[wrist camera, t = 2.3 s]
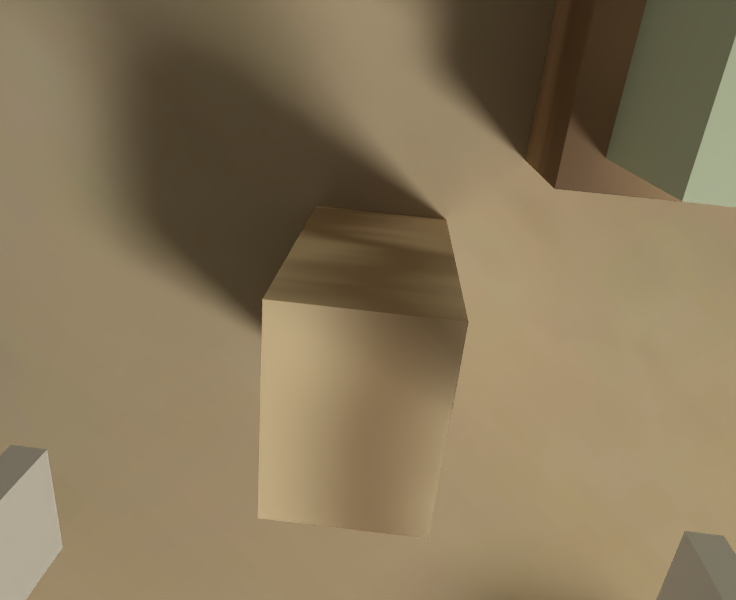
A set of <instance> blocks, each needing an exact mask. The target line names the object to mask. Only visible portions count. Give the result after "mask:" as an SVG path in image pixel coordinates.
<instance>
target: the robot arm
mask: <svg viewBox="0 0 736 600" xmlns="http://www.w3.org/2000/svg"><path fill="white" fill-rule="evenodd" d="M62 548H63V546H62V540H61V534H60V528H59V521H58V515H57V509H56V503H55V496H54V490H53V484H52V477H51V471H50V465H49V459H48V452H47V449H39V448H31V447H23V446H16V445H11V446H10V447H9V448H8V449H7V450H6V451H5V452H3V453H2V454H1V455H0V600H26V599H27V597H28V596H29V594H30V593H31V592H32V590H33V589H34V587H35V586H36V585H37V583H38V582H39V580H40V579H41V577H42V576H43V575H44V573H45V572H46V570H47V569H48V568H49V566H50V565H51V563H52V562H53V561H54V559H55V558H56V556H57V555H58V553H59V552H60V551H61V549H62ZM657 600H736V555H735V553H734V552H733V550H732V548H731V547H730V545H729V544H728V542H727V540H726V539H725V537H724V536H720V535H713V534H705V533H697V532H689V531H685V532H684V535H683V537H682V539H681V542H680V544H679V547H678V549H677V551H676V554H675V556H674V559H673V561H672V563H671V566H670V568H669V571H668V573H667V576H666V578H665V580H664V583H663V585H662V588H661V590H660V592H659V595H658V597H657Z"/></svg>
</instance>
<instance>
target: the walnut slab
mask: <svg viewBox="0 0 736 600" xmlns="http://www.w3.org/2000/svg"><path fill="white" fill-rule="evenodd" d="M646 2H647V0H556V6H555V11H554V16H553V21H552V26H551V31H550V36H549V41H548V46H547V51H546V56H545V61H544V66H543V72H542V77H541V82H540V87H539V92H538V97H537V102H536V107H535V112H534V117H533V122H532V127H531V133H530V138H529V143H528V148H527V153H526V158H525V160H526V161H527V162H528V163H529V164H530V165H531V166H532V167H533V168H534V169H535V170H536V171H537V172H538V173H539V174H540V175H541V176H542V177H543V178H544V179H545V180H546V181H547V182H548V183H549V184H550V185H551V186H552V187H554V188H555V189H563V190H573V191H582V192H592V193H602V194H612V195H622V196H631V197H641V198H651V199H661V200H671V201H680V200H679V199H677V198H675V197H673V196H672V195H670V194H668V193H666V192H664V191H663V190H661V189H659V188H657V187H656V186H654V185H652V184H650V183H649V182H647V181H645V180H643V179H642V178H640V177H638V176H636V175H635V174H633V173H631V172H629V171H628V170H626V169H624V168H622V167H620V166H619V165H617V164H615V163H613V162H612V161H610V160H608V159H606V155H607V151H608V147H609V143H610V139H611V136H612V132H613V128H614V124H615V120H616V117H617V113H618V109H619V105H620V101H621V97H622V94H623V90H624V86H625V82H626V78H627V75H628V71H629V67H630V63H631V59H632V55H633V52H634V48H635V44H636V40H637V36H638V32H639V29H640V25H641V21H642V17H643V13H644V10H645V6H646ZM680 202H682V201H680ZM690 203H691V202H690Z"/></svg>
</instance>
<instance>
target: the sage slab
mask: <svg viewBox="0 0 736 600" xmlns="http://www.w3.org/2000/svg"><path fill="white" fill-rule="evenodd" d="M606 159H608V160H610V161H612V162H613V163H615V164H617V165H619V166H620V167H622V168H624V169H626V170H628V171H629V172H631V173H633V174H635V175H636V176H638V177H640V178H642V179H643V180H645V181H647V182H649V183H650V184H652V185H654V186H656V187H657V188H659V189H661V190H663V191H664V192H666V193H668V194H670V195H672V196H673V197H675V198H677V199H679V200H680V201H682V202H691V203H700V204H709V205H718V206H727V207H736V0H647V2H646V6H645V10H644V13H643V17H642V21H641V25H640V29H639V32H638V36H637V40H636V44H635V48H634V52H633V55H632V59H631V63H630V67H629V71H628V75H627V78H626V82H625V86H624V90H623V94H622V97H621V101H620V105H619V109H618V113H617V117H616V120H615V124H614V128H613V132H612V136H611V139H610V143H609V147H608V151H607V155H606Z"/></svg>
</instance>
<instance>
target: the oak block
mask: <svg viewBox="0 0 736 600" xmlns="http://www.w3.org/2000/svg"><path fill="white" fill-rule="evenodd" d="M467 326H468V319H467V314H466V309H465V305H464V300H463V295H462V291H461V286H460V281H459V277H458V272H457V267H456V263H455V258H454V253H453V249H452V244H451V240H450V235H449V230H448V226H447V221H446V220H444V219H435V218H426V217H417V216H407V215H398V214H389V213H380V212H370V211H361V210H352V209H343V208H333V207H324V206H316V207H315V209H314V210H313V212H312V214H311V216H310V217H309V219H308V221H307V223H306V224H305V226H304V228H303V230H302V231H301V233H300V235H299V237H298V238H297V240H296V242H295V243H294V245H293V247H292V249H291V250H290V252H289V254H288V256H287V257H286V259H285V261H284V263H283V264H282V266H281V268H280V270H279V271H278V273H277V275H276V277H275V278H274V280H273V282H272V284H271V285H270V287H269V289H268V290H267V292H266V294H265V296H264V297H263V299H262V346H261V393H260V440H259V487H258V518H261V519H270V520H278V521H286V522H295V523H303V524H311V525H320V526H328V527H336V528H345V529H353V530H362V531H370V532H378V533H387V534H395V535H403V536H412V537H420V538H428V539H429V535H430V530H431V524H432V519H433V513H434V508H435V502H436V497H437V491H438V486H439V480H440V475H441V469H442V464H443V458H444V453H445V447H446V442H447V436H448V431H449V425H450V420H451V414H452V409H453V403H454V398H455V392H456V387H457V381H458V376H459V370H460V365H461V359H462V354H463V348H464V343H465V337H466V332H467Z"/></svg>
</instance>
